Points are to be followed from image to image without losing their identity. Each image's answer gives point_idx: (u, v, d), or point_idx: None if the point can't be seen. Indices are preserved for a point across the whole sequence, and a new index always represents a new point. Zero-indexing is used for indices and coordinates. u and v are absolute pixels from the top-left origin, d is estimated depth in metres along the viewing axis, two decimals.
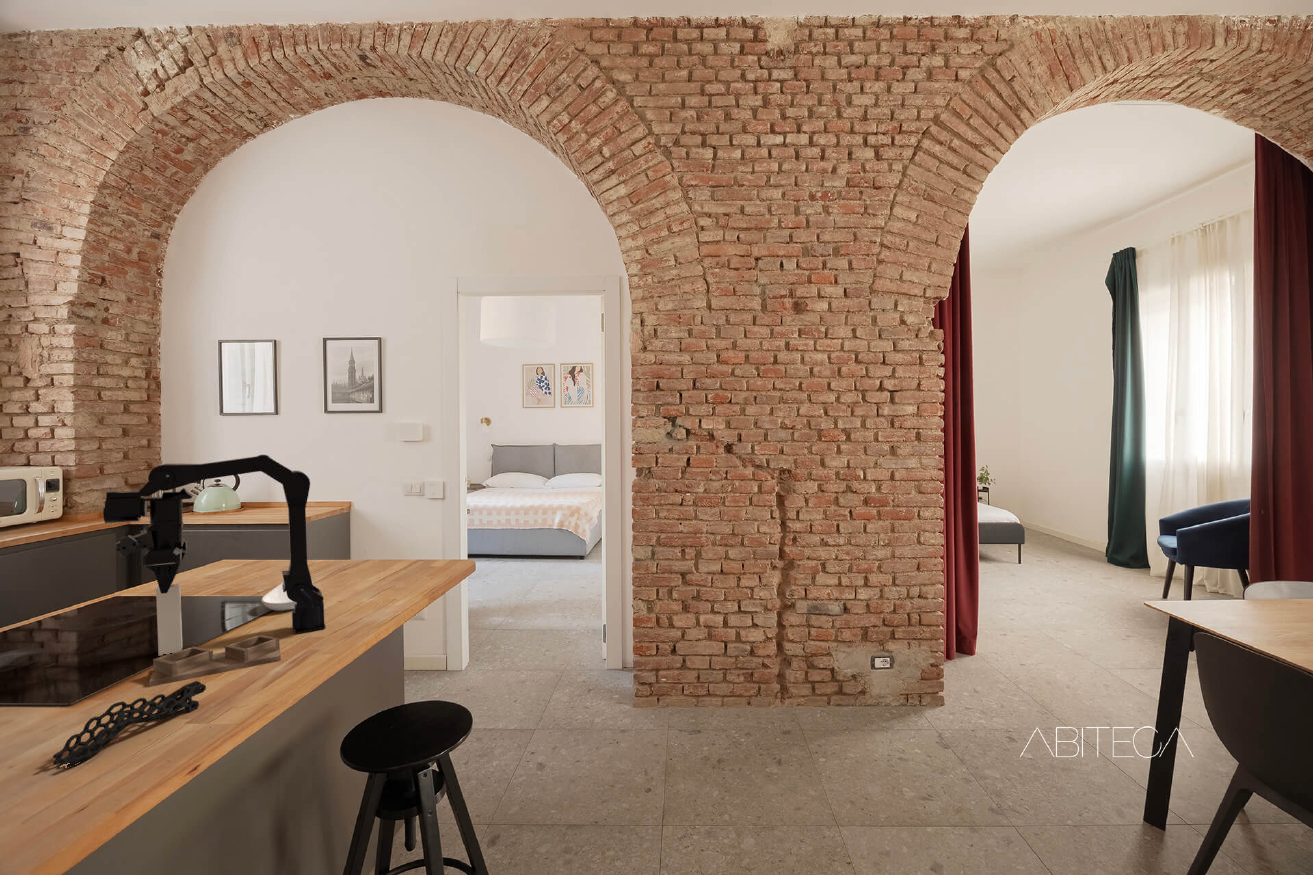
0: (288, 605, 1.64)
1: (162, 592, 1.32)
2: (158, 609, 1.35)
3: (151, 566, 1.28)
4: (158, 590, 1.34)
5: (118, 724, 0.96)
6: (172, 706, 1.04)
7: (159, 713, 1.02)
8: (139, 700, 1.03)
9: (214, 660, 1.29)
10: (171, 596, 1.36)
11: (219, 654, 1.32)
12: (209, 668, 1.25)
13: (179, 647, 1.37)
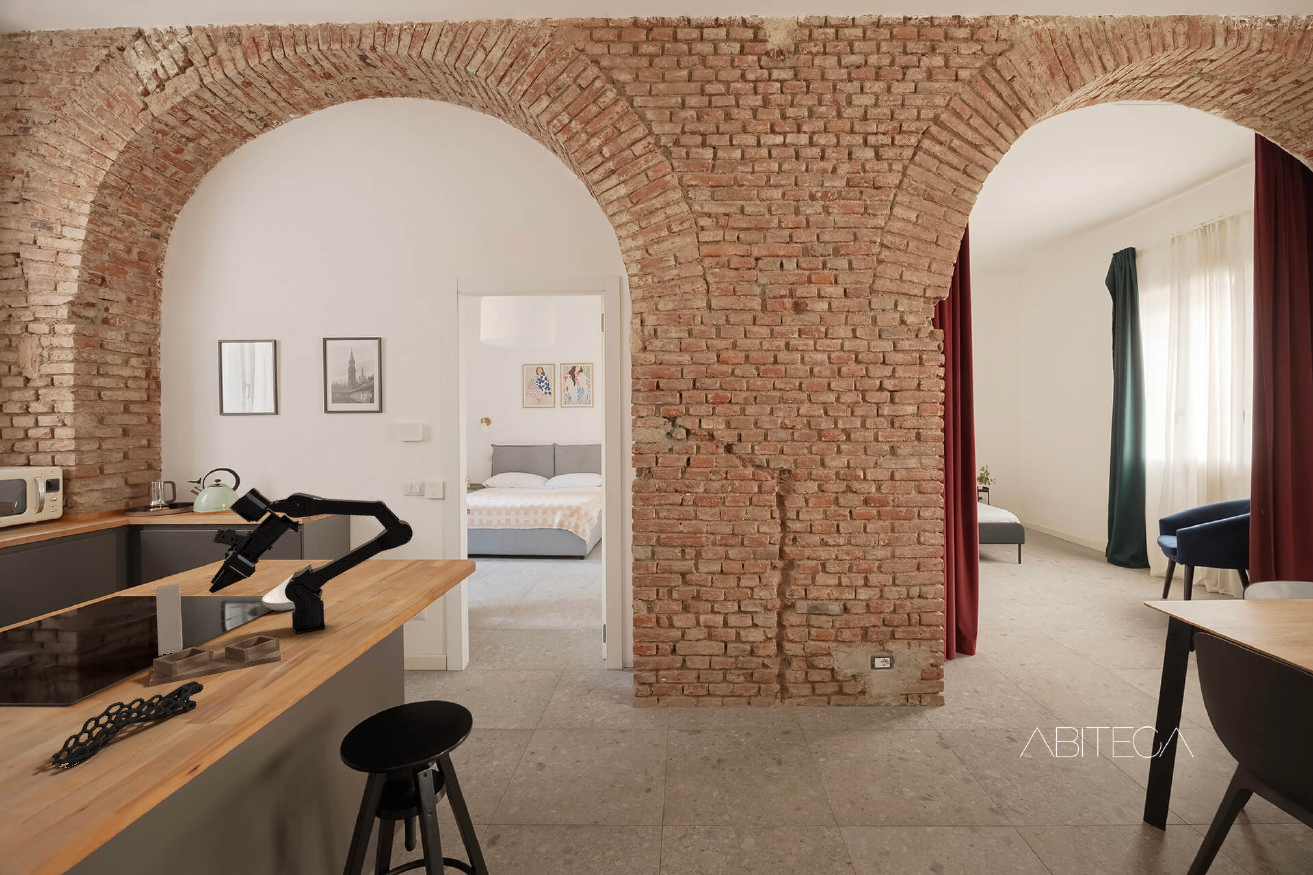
0: (287, 605, 1.64)
1: (210, 590, 1.37)
2: (158, 609, 1.35)
3: (227, 566, 1.36)
4: (158, 590, 1.34)
5: (117, 724, 0.96)
6: (170, 706, 1.04)
7: (157, 713, 1.02)
8: (137, 700, 1.03)
9: (214, 660, 1.29)
10: (171, 596, 1.36)
11: (219, 654, 1.32)
12: (209, 668, 1.25)
13: (179, 647, 1.37)
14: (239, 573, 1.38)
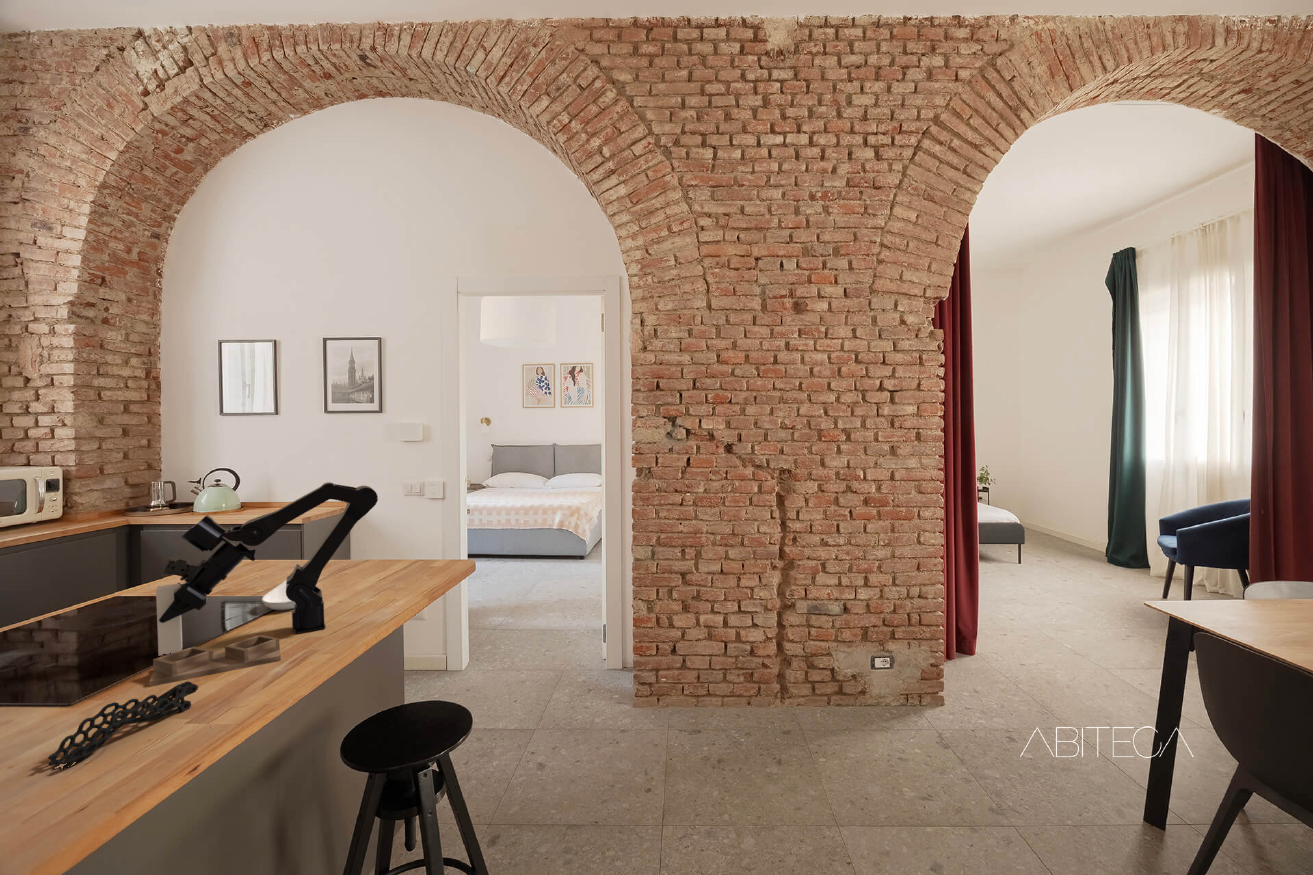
0: (287, 604, 1.65)
1: (160, 620, 1.34)
2: (158, 609, 1.35)
3: None
4: (158, 590, 1.34)
5: (113, 724, 0.96)
6: (165, 706, 1.04)
7: (153, 713, 1.02)
8: (131, 701, 1.03)
9: (214, 660, 1.29)
10: (171, 596, 1.36)
11: (219, 654, 1.32)
12: (209, 668, 1.25)
13: (179, 647, 1.37)
14: None
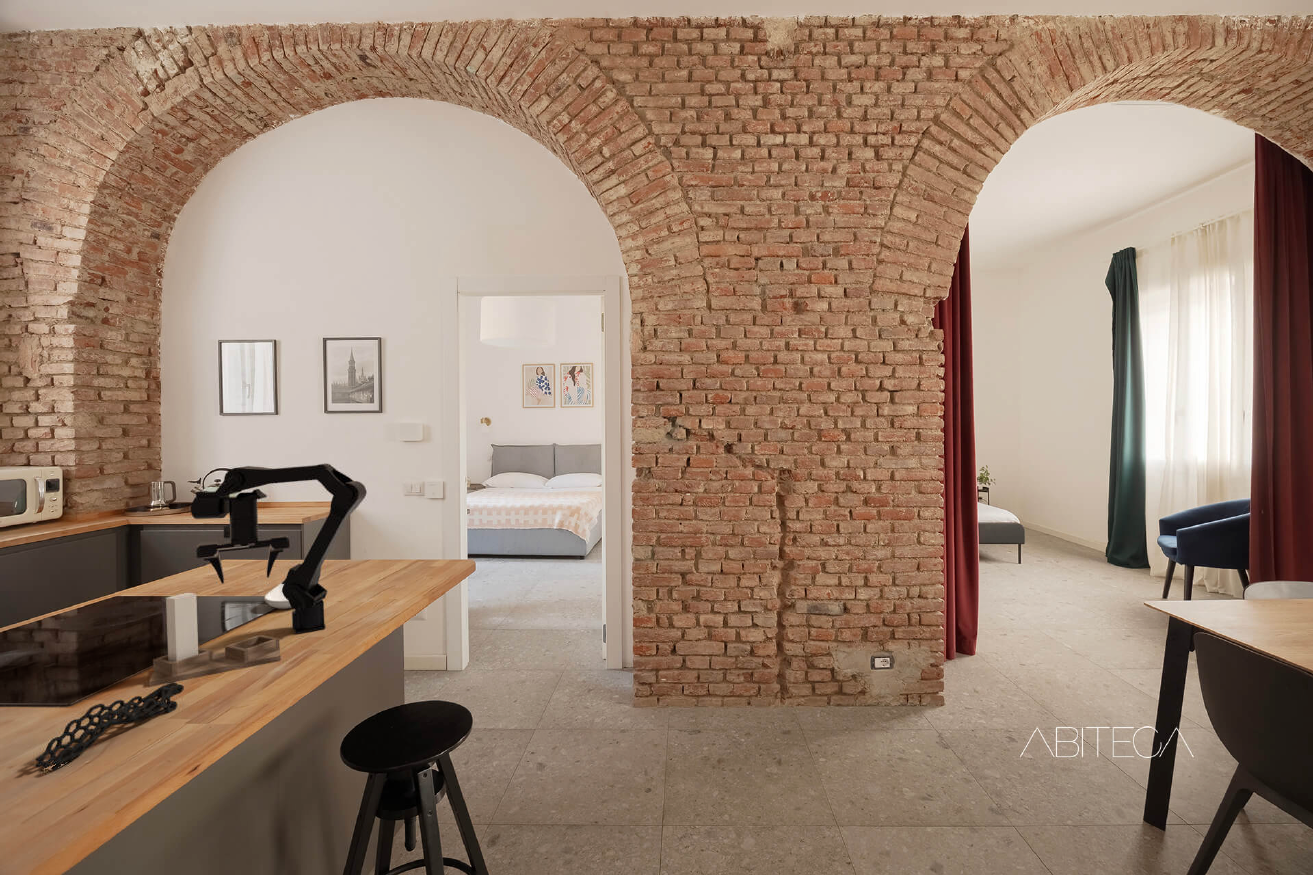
0: None
1: None
2: (177, 620, 1.23)
3: None
4: (176, 600, 1.23)
5: (101, 725, 0.96)
6: (152, 707, 1.04)
7: (140, 714, 1.02)
8: (117, 702, 1.02)
9: (214, 660, 1.29)
10: (189, 605, 1.25)
11: (219, 654, 1.32)
12: (209, 668, 1.25)
13: None
14: (204, 557, 1.43)
